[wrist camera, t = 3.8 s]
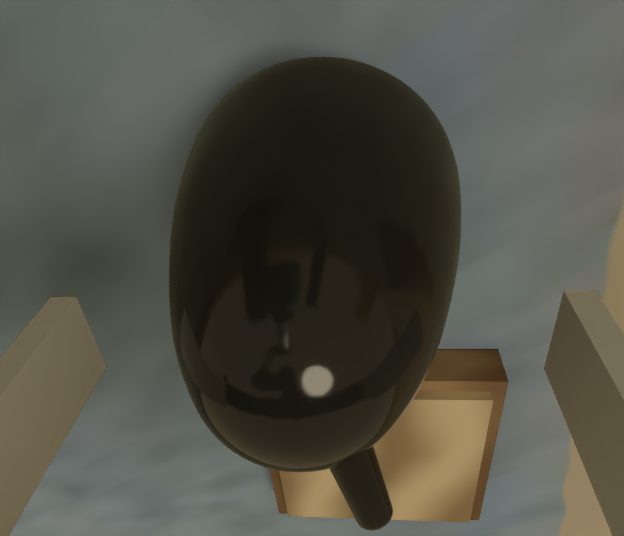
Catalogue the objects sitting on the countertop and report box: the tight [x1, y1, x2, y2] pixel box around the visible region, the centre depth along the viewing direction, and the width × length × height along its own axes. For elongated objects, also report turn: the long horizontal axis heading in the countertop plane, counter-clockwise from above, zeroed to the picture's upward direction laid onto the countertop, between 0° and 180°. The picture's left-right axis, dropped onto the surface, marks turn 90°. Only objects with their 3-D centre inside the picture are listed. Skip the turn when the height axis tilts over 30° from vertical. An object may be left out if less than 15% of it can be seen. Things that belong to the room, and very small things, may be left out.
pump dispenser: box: [169, 57, 461, 530], centre depth 17 cm, size 10×10×15 cm
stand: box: [270, 350, 508, 522], centre depth 32 cm, size 14×14×3 cm
